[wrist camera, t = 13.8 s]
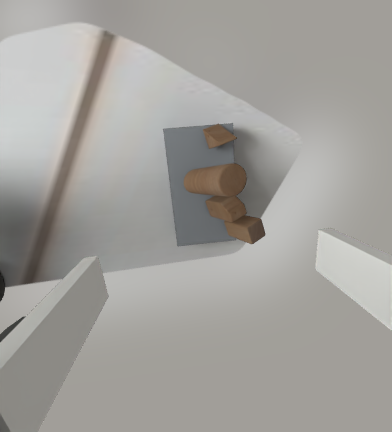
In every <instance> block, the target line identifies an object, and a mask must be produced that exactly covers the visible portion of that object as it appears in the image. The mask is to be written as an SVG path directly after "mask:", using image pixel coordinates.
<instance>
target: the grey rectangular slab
mask: <svg viewBox="0 0 392 432" xmlns="http://www.w3.org/2000/svg"><path fill="white" fill-rule="evenodd" d="M219 125H221V126H222V127H223V128H225V129H226V130H227V131H229V132H230V133H231V134H233V123H230V124H219ZM211 126H214V125H205V126H193V127H180V128H168V129H163V131H164V139H165V147H166V156H167V164H168V172H169V180H170V189H171V197H172V205H173V213H174V222H175V230H176V238H177V246H185V245H194V244H203V243H213V242H222V241H231V240H236V238H234V237H232V236H229V235H228V232H227V229H226V226H225V224H224V221H225V220H222V219H218V218H215V217H211V216H210V213H209V210H208V208H207V205H206V202H205V201H206V200H208V199H210V198H211V197H213V196H215V195H204V194H194V193H190V192H188V191H187V190H186V188H185V187H184V178H185V175H186V174H187V173H188V172H189V171H191V170H194V169H199V168H205V167H212V166H218V165H224V164H231V163H234V140H232V141H230V142H228V143H225V144H223V145H220V146H217V147H214V148H211V149H209V147H208V144H207V141H206V138H205V135H204V132H203V129H205V128H208V127H211Z"/></svg>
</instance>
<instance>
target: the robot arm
mask: <svg viewBox="0 0 392 432" xmlns="http://www.w3.org/2000/svg"><path fill="white" fill-rule="evenodd" d="M315 270H317V271H318V272H319V273H320V274H322V275H323V276H324V277H325V278H327V279H328V280H329V281H330V282H332V283H333V284H334V285H335V286H337V287H338V288H339V289H340V290H342V291H343V292H344V293H345V294H347V295H348V296H349V297H350V298H352V299H353V300H354V301H355V302H357V303H358V304H359V305H360V306H362V307H363V308H364V309H365V310H367V311H368V312H369V313H370V314H371V315H373V316H374V317H375V318H376V319H378V320H379V321H380V322H382V323H383V324H384V325H386V327H388V328H389V329H390V330H391V331H392V255H391V254H388V253H386V252H384V251H382V250H379V249H377V248H375V247H373V246H370V245H368V244H366V243H364V242H361V241H359V240H357V239H355V238H352V237H350V236H348V235H346V234H343V233H341V232H339V231H337V230H334V229H332V228H327V229H319V234H318V244H317V255H316V266H315ZM4 291H5V285H4V281H3V278H2V276H1V274H0V301H1V300H2V298H3V296H4ZM107 298H108V293H107V289H106V286H105V281H104V278H103V274H102V270H101V266H100V262H99V258H98V256H93V257H85V258H83V259H82V260H81V261H80V262H79V263H78V264H77V265H76V266H75V267H74V268H73V269H72V270H71V271H70V272H69V273H68V274H67V275H66V276H65V277H64V278H63V279H62V281H61V282H59V284H58V285H57V286H56V287H55V288H54V289H53V290H52V291H51V292H50V293H49V294H48V295H47V296H46V297H45V298H44V299H43V300H42V301H41V302H40V303H39V304H38V305H37V306H36V307H35V308H34V309H33V310H32V311H31V312H30V313H29V314H28V315H27V316H25V317H22V318H21V319H19V320H18V321H16V322H15V323H14V324H12V325H11V326H9V327H8V328H7V329H5V330H4V331H3V332H2V333H1V334H0V432H38V430H39V428H40V426H41V424H42V423H43V421H44V419H45V417H46V415H47V413H48V411H49V409H50V407H51V405H52V404H53V402H54V400H55V398H56V396H57V394H58V392H59V390H60V388H61V386H62V384H63V382H64V381H65V379H66V377H67V375H68V373H69V371H70V369H71V367H72V365H73V363H74V361H75V360H76V358H77V356H78V354H79V352H80V350H81V348H82V346H83V344H84V342H85V340H86V338H87V336H88V335H89V333H90V331H91V329H92V327H93V325H94V323H95V321H96V319H97V317H98V315H99V314H100V312H101V310H102V308H103V306H104V304H105V302H106V300H107Z"/></svg>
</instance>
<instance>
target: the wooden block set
mask: <svg viewBox="0 0 392 432" xmlns="http://www.w3.org/2000/svg"><path fill="white" fill-rule="evenodd" d="M203 132H204V135H205V138H206V141H207V144H208V147H209V149H211V148H214V147H217V146H220V145H223V144H225V143H228V142H230V141H232V140H235V139H237V137H235V136H234V135H233V134H231V133H230V132H229V131H227V130H226V129H225V128H223V127H222V126H221V125H219V124H216V125H214V126H211V127H208V128H205V129H203ZM246 179H247V178H246V173H245V170H244V169H243V168H242V167H241V166H240V165H238V164H234V163H231V164H224V165H218V166H212V167H205V168H199V169H194V170H191V171H189V172H188V173H187V174H186V175H185V178H184V187H185V188H186V190H187V191H188V192H190V193H194V194H204V195H215V196H213V197H211V198H210V199H208V200H206V201H205V202H206V205H207V208H208V210H209V213H210V216H211V217H215V218H218V219H222V220H225V221H224V224H225V226H226V229H227V232H228V235H229V236H232V237H234V238H237V239H239V240H242V241H245V242H247V243H250V244H254V243H255V242H256V241H258V240H259V239H261V238H262V237H264V236H265V231H264V227H263V224H262V220H261V219H259V218H255V217H250V216H245V214H246V213H247V212H246V209H245V206H244V204H243V203H242V202H241V201H240V200H239V199H238V198H237V197H236V196H235V195H237V194H239V193H240V192H241V191H242V190H243V189H244V187H245V184H246Z"/></svg>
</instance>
